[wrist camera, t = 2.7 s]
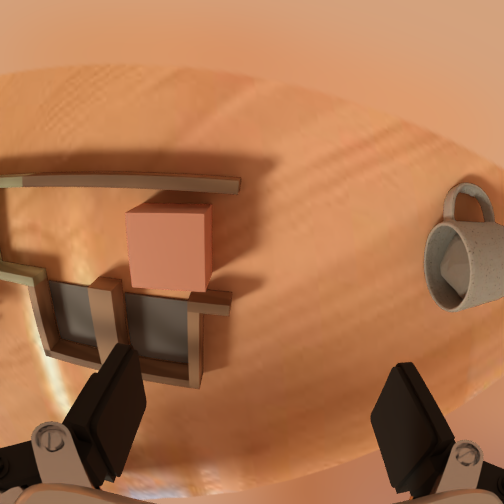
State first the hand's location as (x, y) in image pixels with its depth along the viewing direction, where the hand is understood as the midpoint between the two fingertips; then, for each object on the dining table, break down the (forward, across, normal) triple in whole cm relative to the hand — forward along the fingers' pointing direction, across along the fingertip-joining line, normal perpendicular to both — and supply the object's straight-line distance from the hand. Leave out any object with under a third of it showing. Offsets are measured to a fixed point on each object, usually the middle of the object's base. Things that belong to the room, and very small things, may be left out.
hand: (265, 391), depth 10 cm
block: (+17, +7, 0) cm, 18 cm away
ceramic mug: (+17, -19, -3) cm, 25 cm away
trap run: (+17, +16, +4) cm, 24 cm away
